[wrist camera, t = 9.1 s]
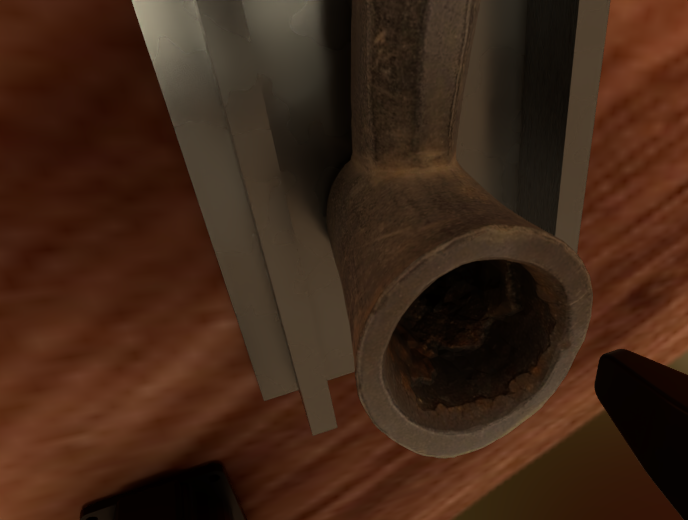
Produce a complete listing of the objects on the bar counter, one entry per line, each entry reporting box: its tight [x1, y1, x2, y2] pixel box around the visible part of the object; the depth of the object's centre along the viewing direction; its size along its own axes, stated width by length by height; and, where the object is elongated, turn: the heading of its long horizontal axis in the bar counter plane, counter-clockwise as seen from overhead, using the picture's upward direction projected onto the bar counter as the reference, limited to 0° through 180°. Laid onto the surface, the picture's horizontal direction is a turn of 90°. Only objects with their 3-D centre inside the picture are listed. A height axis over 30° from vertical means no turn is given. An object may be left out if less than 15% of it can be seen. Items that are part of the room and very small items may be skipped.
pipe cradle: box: [132, 0, 610, 436], centre depth 17 cm, size 22×14×5 cm, turn 8°
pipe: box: [326, 0, 593, 458], centre depth 15 cm, size 6×13×8 cm, turn 1°
